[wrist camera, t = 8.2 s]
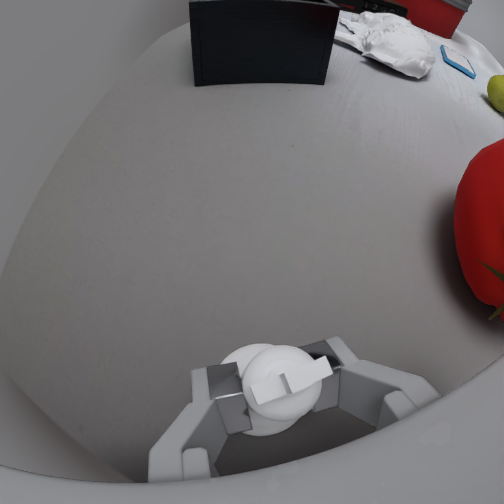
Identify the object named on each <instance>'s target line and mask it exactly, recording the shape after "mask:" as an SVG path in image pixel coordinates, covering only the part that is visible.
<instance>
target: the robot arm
mask: <svg viewBox="0 0 504 504" xmlns="http://www.w3.org/2000/svg"><path fill="white" fill-rule="evenodd" d="M297 348H299V349H301V350H303V351H305V352H306V353H307V354H309V355H310V356H311V357H312V358H313V359H314V360H317V359H319V358H321V357H323V356H326V358H327V360H328V362H329V365H330V367H331V369H332V372H333V374H332V375H329V376H327V377H325V378H323V379H322V388H321V393H320V396H319V398H318V400H317V402H316V404H315V405H314V406H313V407H312V410H313V412H314V413H317V412H321V411H324V410H327V409H331V408H334V407H337V406H338V408H340V409H342V410H344V411H346V412H347V413H349V414H351V415H353V416H355V417H357V418H359V419H360V420H362V421H364V422H366V423H368V424H370V425H372V426H374V427H376V431H375V432H373V433H371V434H368V435H366V436H364V437H361V438H359V439H356V440H354V441H351V442H349V443H346V444H344V445H341V446H338V447H335V448H333V449H330V450H327V451H324V452H321V453H318V454H315V455H312V456H308V457H305V458H302V459H298V460H295V461H291V462H288V463H284V464H280V465H276V466H272V467H268V468H263V469H259V470H254V471H249V472H244V473H239V474H233V475H227V476H221V477H220V476H219V474H218V472H217V470H216V468H215V466H214V464H215V462H216V460H217V458H218V456H219V454H220V452H221V450H222V448H223V445H224V443H225V441H226V439H227V437H228V436H227V435H232V434H236V433H241V432H245V431H249V430H253V428H252V423H251V419H250V415H249V411H248V406H247V401H246V399H245V396H244V393H243V387H242V381H241V378H240V374H239V370H238V366H237V362H231V363H226V364H220V365H214V366H208V367H202V368H196V369H192V370H191V387H192V403H188V404H187V405H186V406H185V408H184V409H183V410H182V411H181V413H180V414H179V415H178V416H177V418H176V419H175V420H174V421H173V423H172V424H171V425H170V426H169V428H168V429H167V430H166V431H165V433H164V434H163V435H162V436H161V437H160V439H159V440H158V441H157V442H156V444H155V445H154V446H153V447H152V448H151V450H150V451H149V466H148V483H111V482H110V483H109V482H94V481H82V480H74V479H66V478H58V477H53V476H47V475H41V474H36V473H31V472H27V471H22V470H18V469H14V468H10V467H6V466H2V465H0V504H504V354H503V355H502V356H500V357H499V358H498V359H497V360H495V361H494V362H493V363H491V364H490V365H489V366H487V367H486V368H485V369H483V370H482V371H480V372H479V373H478V374H476V375H475V376H473V377H472V378H471V379H469V380H468V381H466V382H465V383H463V384H462V385H460V386H459V387H457V388H455V389H454V390H452V391H451V392H449V393H448V394H446V395H444V396H443V397H442V396H441V395H440V394H439V393H438V392H437V391H436V389H435V388H434V387H433V386H432V385H430V384H429V383H428V382H427V381H426V380H425V379H424V378H423V377H422V376H418V375H415V374H411V373H408V372H404V371H401V370H397V369H394V368H390V367H387V366H383V365H380V364H377V363H373V362H370V361H367V360H364V359H363V360H359V359H358V358H357V357H356V356H355V355H354V353H353V352H352V351H351V350H350V349H349V348H348V346H347V345H346V344H345V343H344V342H343V341H342V339H341V338H340V337H339V336H334V337H330V338H327V339H324V340H322V341H319V342H315V343H312V344H308V345H305V346H301V347H297Z"/></svg>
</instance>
